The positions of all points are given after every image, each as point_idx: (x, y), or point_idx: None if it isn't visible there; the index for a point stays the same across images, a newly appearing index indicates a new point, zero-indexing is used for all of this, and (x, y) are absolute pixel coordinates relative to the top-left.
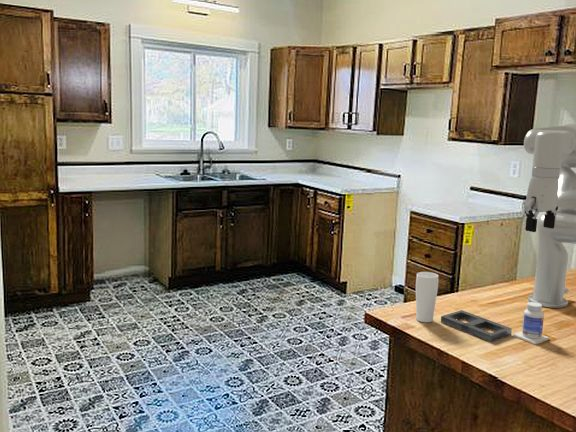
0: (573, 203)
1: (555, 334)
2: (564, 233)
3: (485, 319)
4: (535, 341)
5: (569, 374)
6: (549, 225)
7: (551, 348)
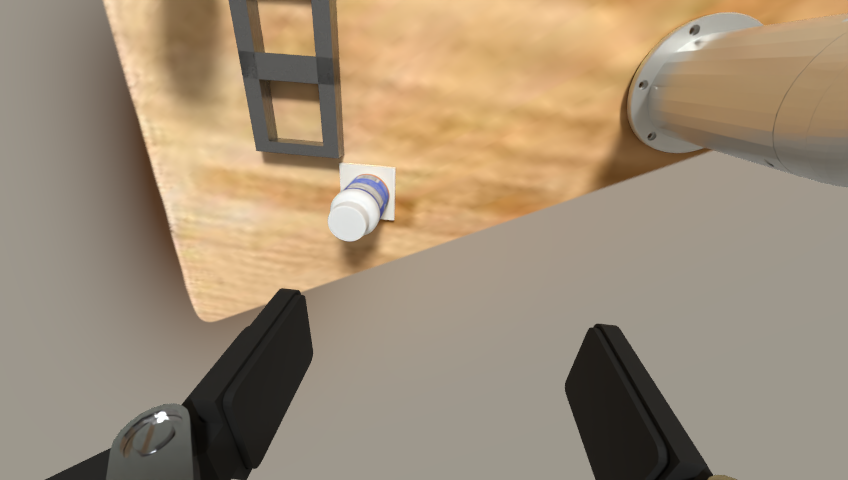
0: None
1: (433, 216)
2: None
3: (329, 74)
4: None
5: None
6: (579, 386)
7: None
